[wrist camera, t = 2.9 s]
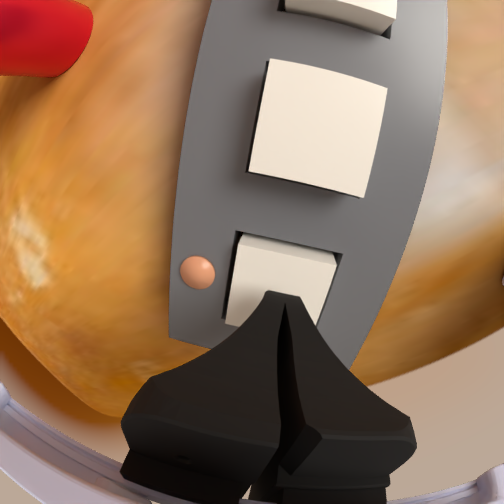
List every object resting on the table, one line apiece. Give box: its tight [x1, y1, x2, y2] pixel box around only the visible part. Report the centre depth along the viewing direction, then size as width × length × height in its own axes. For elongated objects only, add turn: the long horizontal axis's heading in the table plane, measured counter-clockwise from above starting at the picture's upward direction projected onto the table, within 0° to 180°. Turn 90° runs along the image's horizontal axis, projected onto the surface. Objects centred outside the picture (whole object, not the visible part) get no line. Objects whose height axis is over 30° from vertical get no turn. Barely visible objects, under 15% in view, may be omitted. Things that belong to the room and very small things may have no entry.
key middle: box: [249, 58, 388, 198], centre depth 10 cm, size 4×4×3 cm
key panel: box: [169, 0, 448, 370], centre depth 11 cm, size 10×23×3 cm, turn 170°
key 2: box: [225, 232, 337, 327], centre depth 13 cm, size 4×4×3 cm
